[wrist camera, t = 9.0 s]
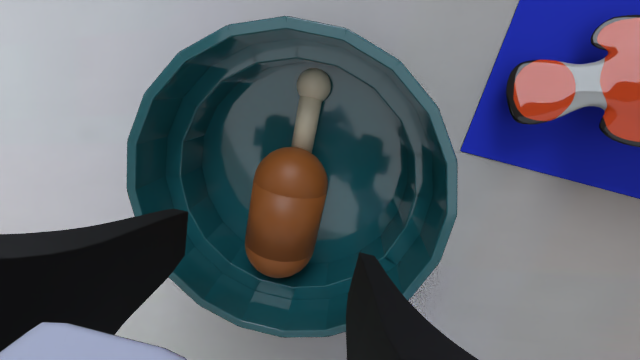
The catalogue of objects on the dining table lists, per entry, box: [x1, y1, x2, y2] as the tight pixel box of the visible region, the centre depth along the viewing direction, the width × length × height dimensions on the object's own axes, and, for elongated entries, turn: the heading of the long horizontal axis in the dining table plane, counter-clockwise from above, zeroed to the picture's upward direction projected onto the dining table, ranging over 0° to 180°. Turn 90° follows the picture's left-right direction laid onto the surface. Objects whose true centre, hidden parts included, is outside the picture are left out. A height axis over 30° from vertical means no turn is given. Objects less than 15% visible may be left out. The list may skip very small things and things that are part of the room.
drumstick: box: [245, 68, 331, 278], centre depth 17 cm, size 12×4×4 cm, turn 169°
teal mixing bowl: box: [127, 16, 457, 338], centre depth 17 cm, size 15×15×6 cm
